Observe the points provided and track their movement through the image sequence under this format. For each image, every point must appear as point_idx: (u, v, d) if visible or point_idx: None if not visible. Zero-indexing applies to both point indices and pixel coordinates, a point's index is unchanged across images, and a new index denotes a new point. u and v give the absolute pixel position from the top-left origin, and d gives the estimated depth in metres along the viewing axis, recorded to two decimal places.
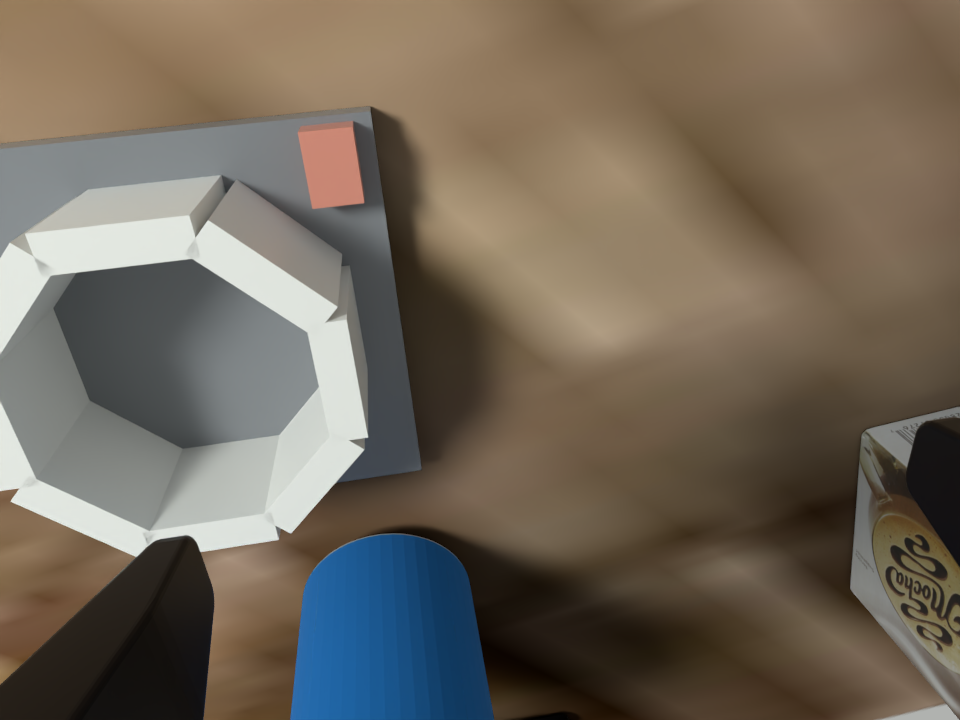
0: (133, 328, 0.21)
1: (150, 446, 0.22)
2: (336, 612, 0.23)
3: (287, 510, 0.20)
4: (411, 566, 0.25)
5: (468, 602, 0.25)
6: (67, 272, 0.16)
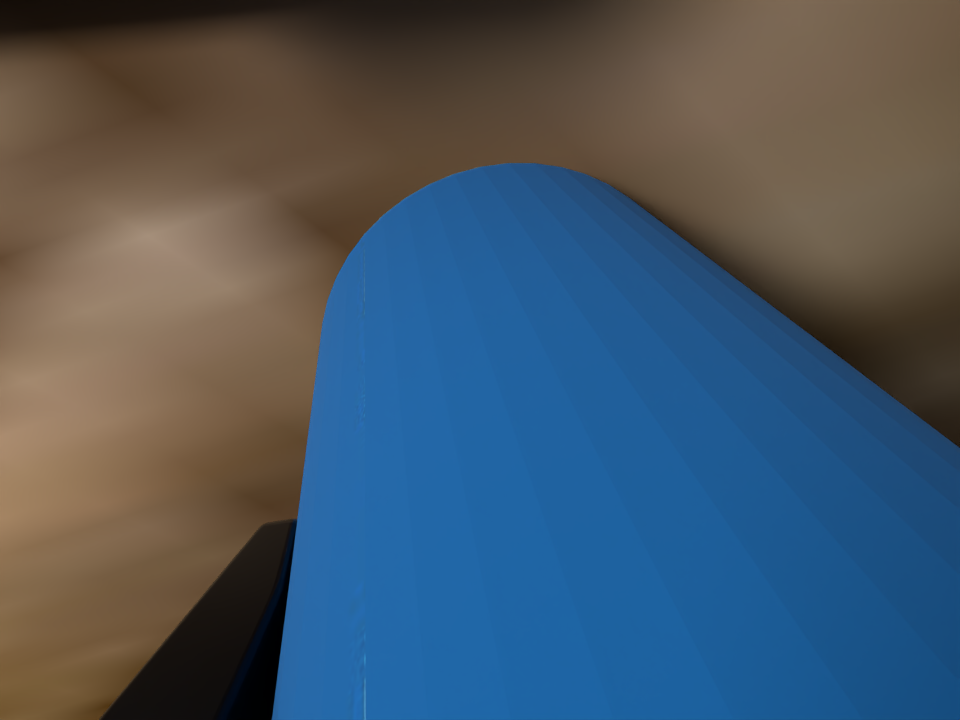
0: None
1: None
2: (424, 261, 0.08)
3: None
4: (606, 196, 0.10)
5: None
6: None
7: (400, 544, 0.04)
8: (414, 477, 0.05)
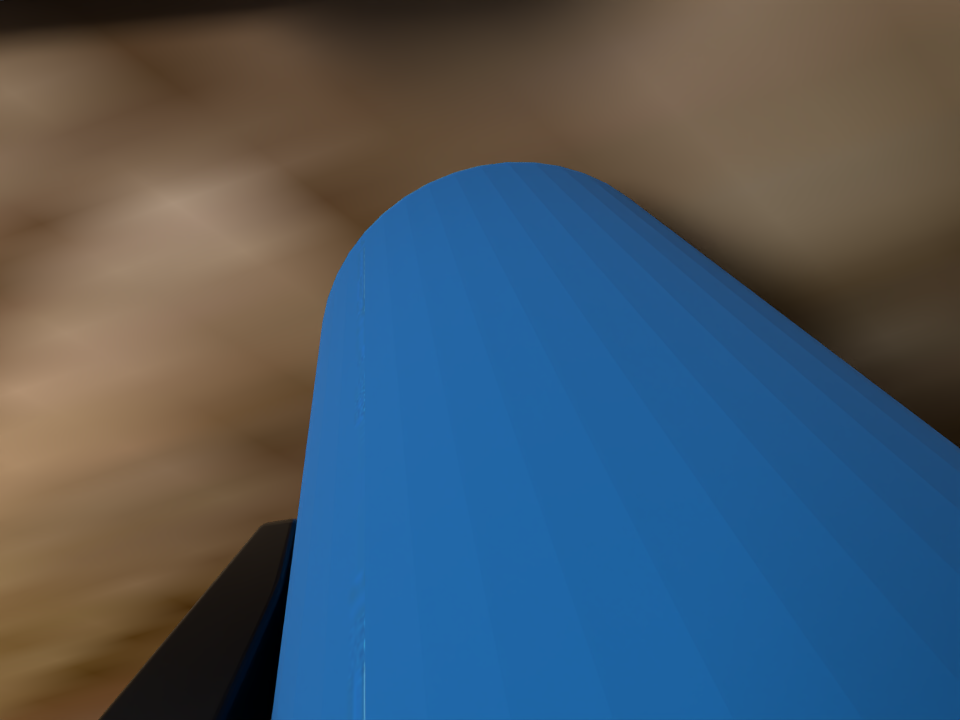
0: None
1: None
2: (423, 258, 0.08)
3: None
4: (603, 194, 0.10)
5: None
6: None
7: (398, 533, 0.05)
8: (413, 467, 0.05)
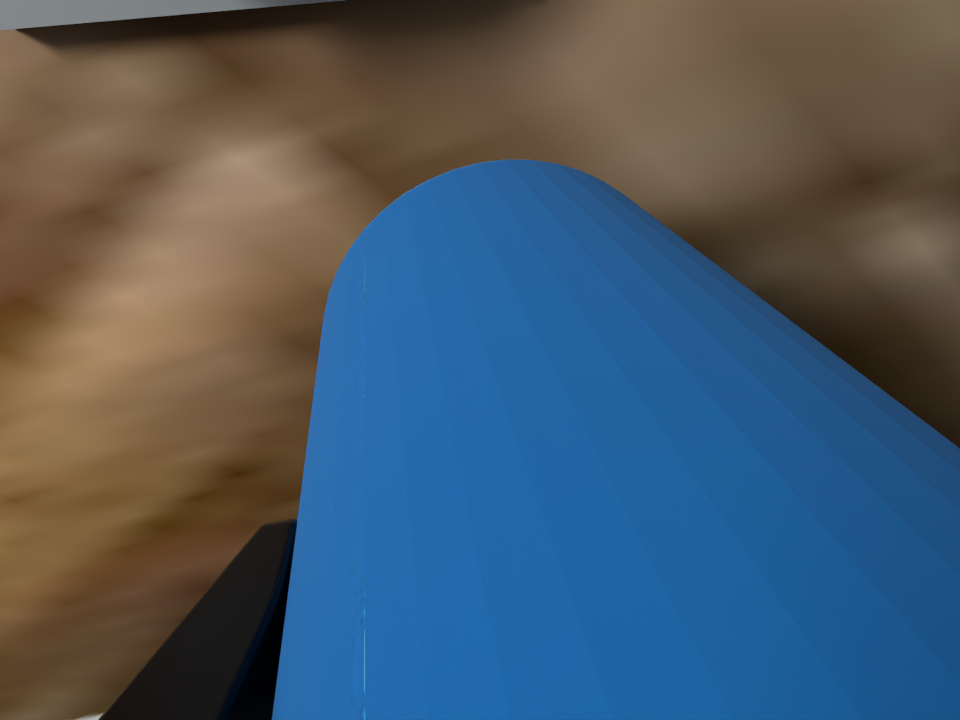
0: None
1: None
2: (422, 253, 0.08)
3: None
4: (597, 191, 0.10)
5: None
6: None
7: (398, 510, 0.05)
8: (411, 448, 0.05)
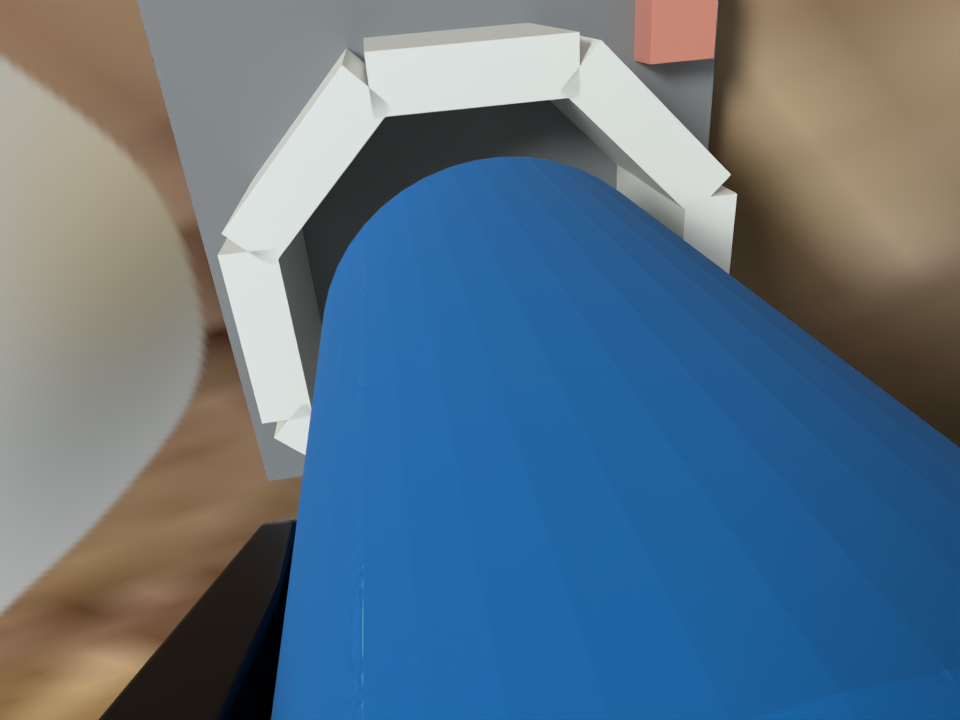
0: None
1: None
2: (419, 246, 0.09)
3: None
4: (592, 187, 0.10)
5: None
6: (406, 113, 0.12)
7: (395, 488, 0.05)
8: (409, 432, 0.05)
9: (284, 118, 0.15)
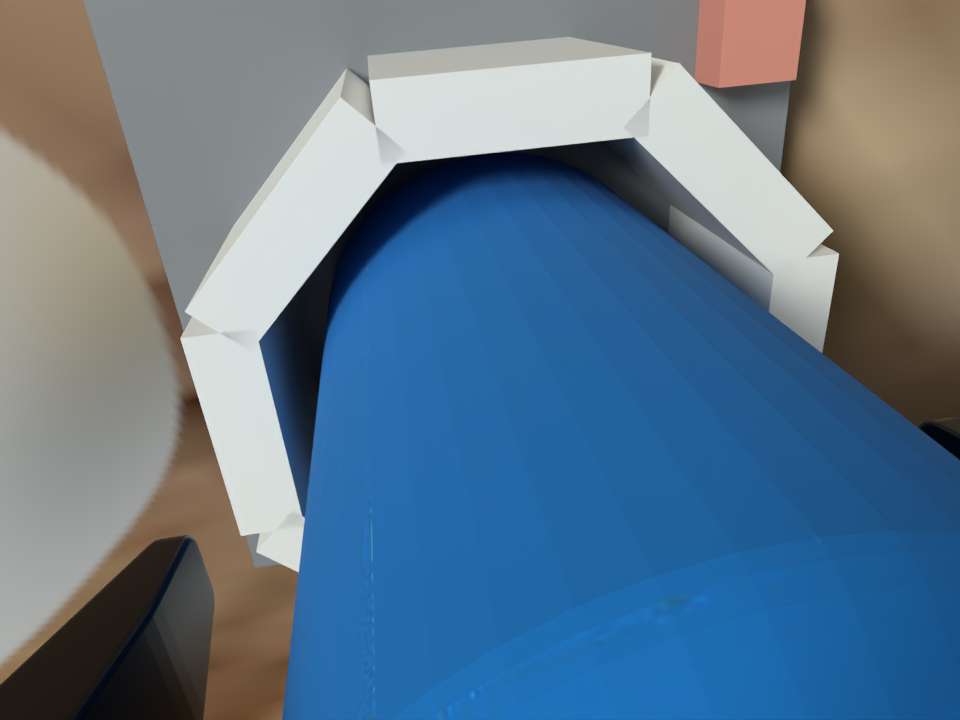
0: None
1: None
2: (419, 234, 0.09)
3: None
4: (578, 179, 0.11)
5: None
6: (425, 158, 0.09)
7: (398, 435, 0.06)
8: (408, 389, 0.06)
9: (271, 153, 0.12)
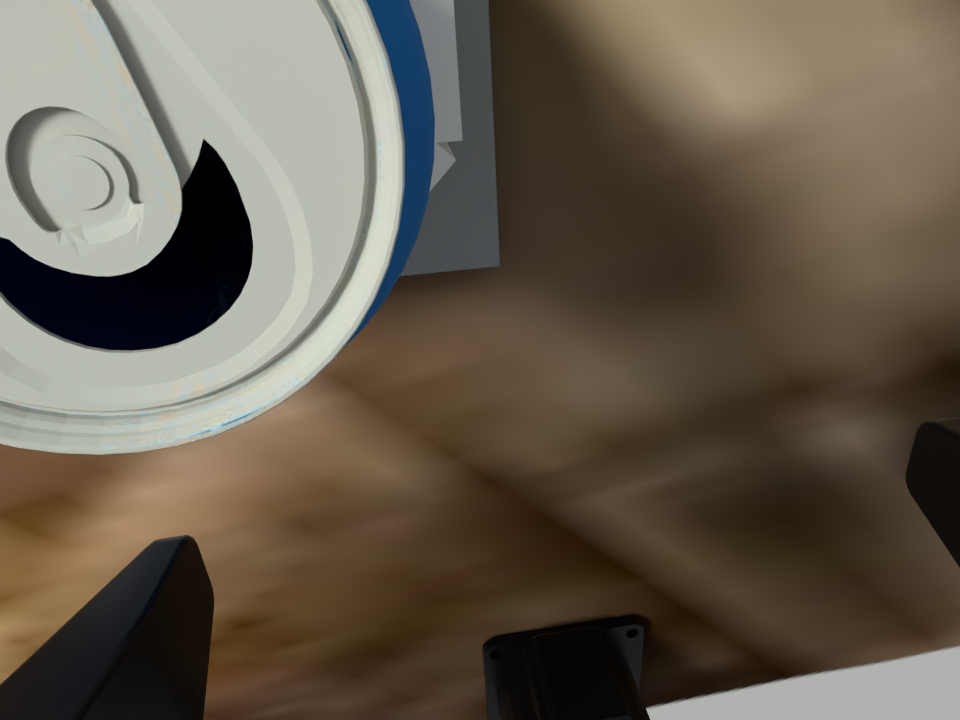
0: None
1: None
2: None
3: None
4: None
5: None
6: None
7: None
8: None
9: None
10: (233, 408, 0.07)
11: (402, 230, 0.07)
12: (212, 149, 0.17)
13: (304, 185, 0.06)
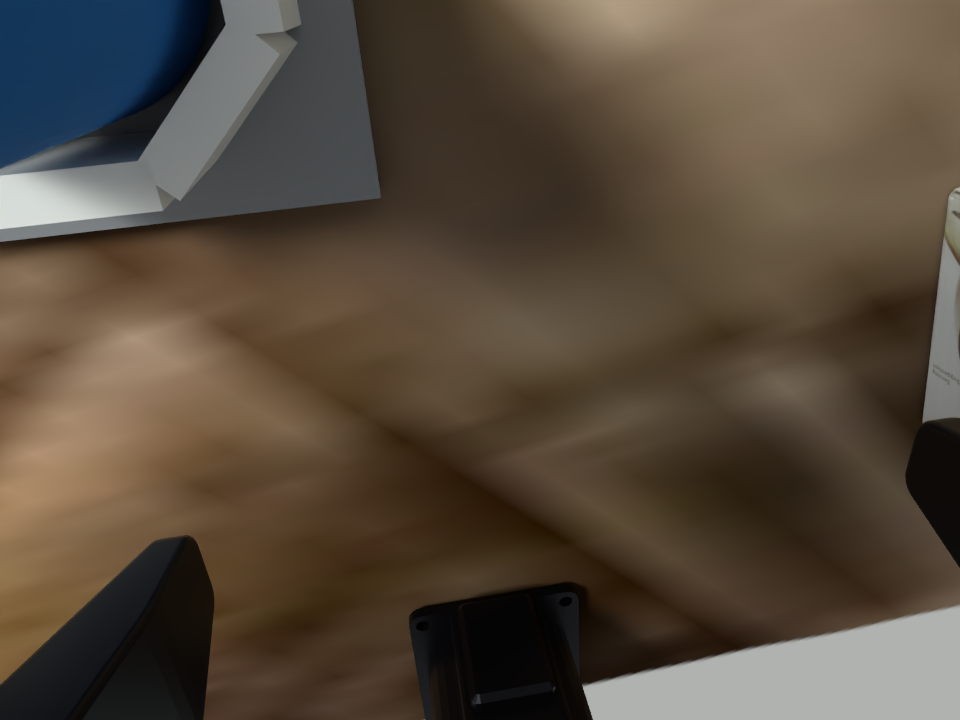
0: None
1: None
2: None
3: (171, 158, 0.14)
4: None
5: None
6: None
7: None
8: None
9: None
10: None
11: None
12: None
13: None
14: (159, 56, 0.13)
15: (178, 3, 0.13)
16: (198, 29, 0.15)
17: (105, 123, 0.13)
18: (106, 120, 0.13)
